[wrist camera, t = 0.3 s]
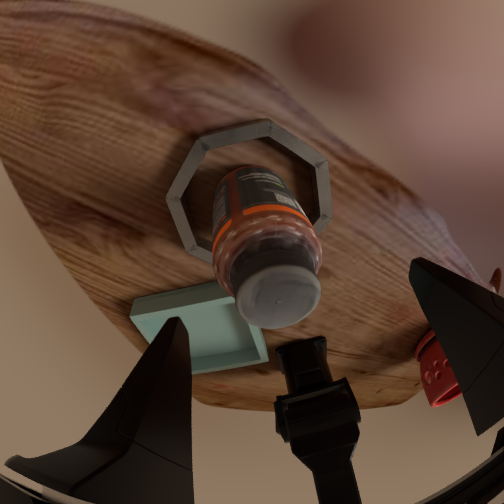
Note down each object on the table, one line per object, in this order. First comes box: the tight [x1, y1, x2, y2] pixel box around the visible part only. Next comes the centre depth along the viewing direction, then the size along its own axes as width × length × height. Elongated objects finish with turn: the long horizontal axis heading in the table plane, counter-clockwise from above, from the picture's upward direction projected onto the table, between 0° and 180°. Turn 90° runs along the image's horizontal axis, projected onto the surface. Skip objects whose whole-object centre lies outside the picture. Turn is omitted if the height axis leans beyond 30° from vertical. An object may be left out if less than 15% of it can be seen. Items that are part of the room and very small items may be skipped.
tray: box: [129, 281, 269, 375], centre depth 28 cm, size 12×12×2 cm
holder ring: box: [166, 118, 333, 264], centre depth 21 cm, size 12×12×2 cm
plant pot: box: [415, 329, 462, 407], centre depth 34 cm, size 13×13×12 cm
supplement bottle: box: [212, 165, 322, 329], centre depth 17 cm, size 6×6×11 cm
